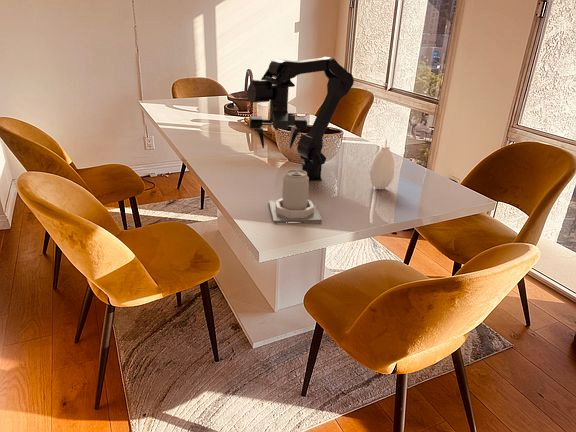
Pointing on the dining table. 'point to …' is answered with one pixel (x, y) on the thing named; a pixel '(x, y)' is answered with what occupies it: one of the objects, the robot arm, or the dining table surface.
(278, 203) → the housing
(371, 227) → the dining table surface
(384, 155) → the sauce bottle
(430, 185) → the dining table surface
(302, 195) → the can
